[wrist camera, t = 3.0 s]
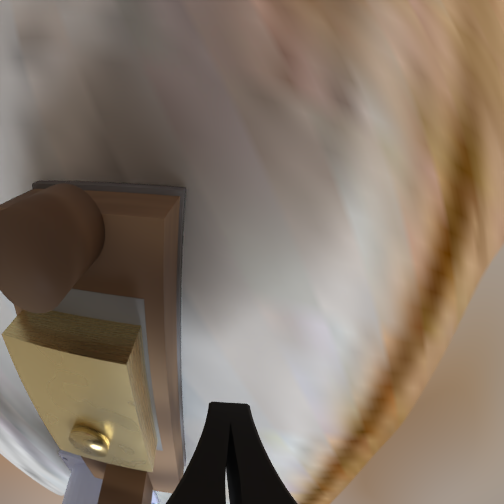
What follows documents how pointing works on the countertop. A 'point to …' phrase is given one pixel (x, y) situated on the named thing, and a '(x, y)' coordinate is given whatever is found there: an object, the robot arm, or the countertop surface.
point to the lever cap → (87, 384)
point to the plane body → (108, 292)
